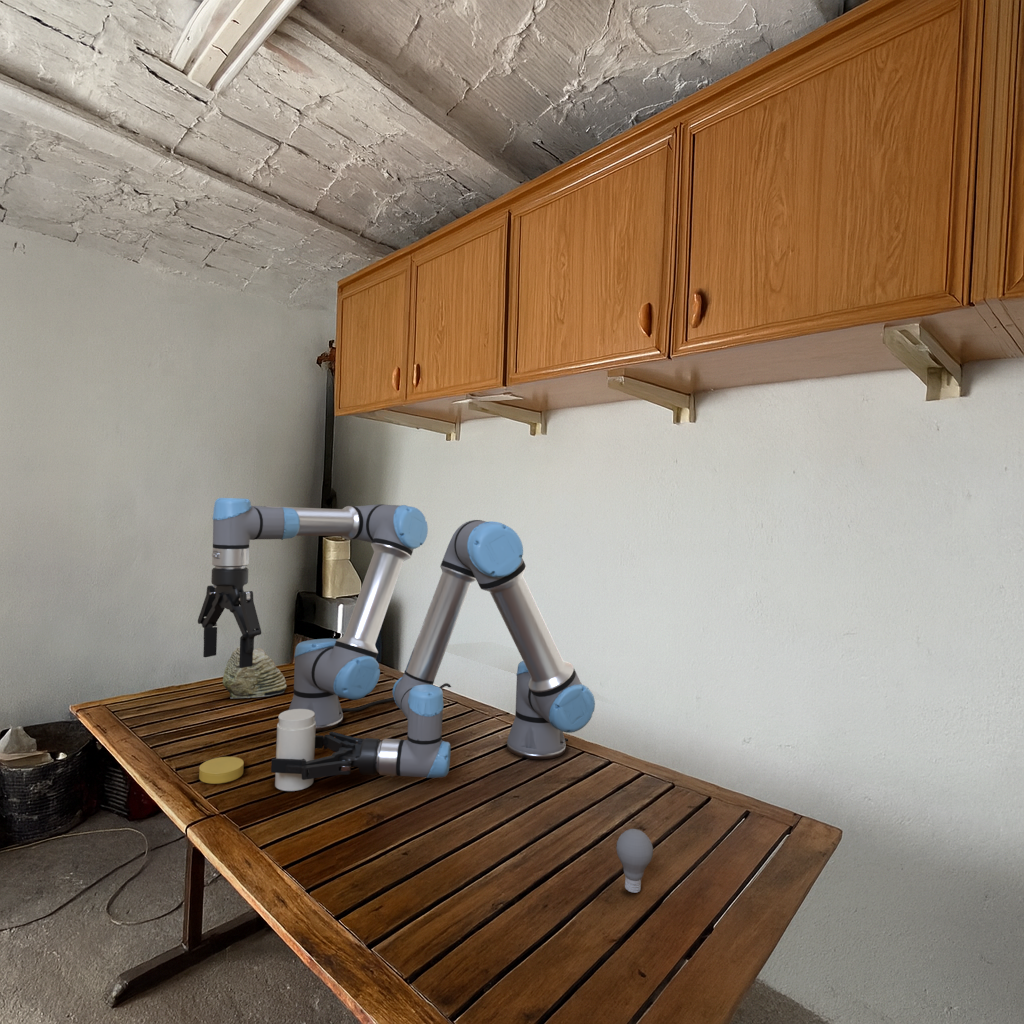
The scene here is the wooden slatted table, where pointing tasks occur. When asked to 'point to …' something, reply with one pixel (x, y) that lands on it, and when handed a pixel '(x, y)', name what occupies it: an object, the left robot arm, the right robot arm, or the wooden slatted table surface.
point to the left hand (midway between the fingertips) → (227, 661)
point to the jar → (295, 745)
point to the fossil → (253, 676)
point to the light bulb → (634, 857)
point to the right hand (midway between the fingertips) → (283, 752)
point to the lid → (221, 770)
